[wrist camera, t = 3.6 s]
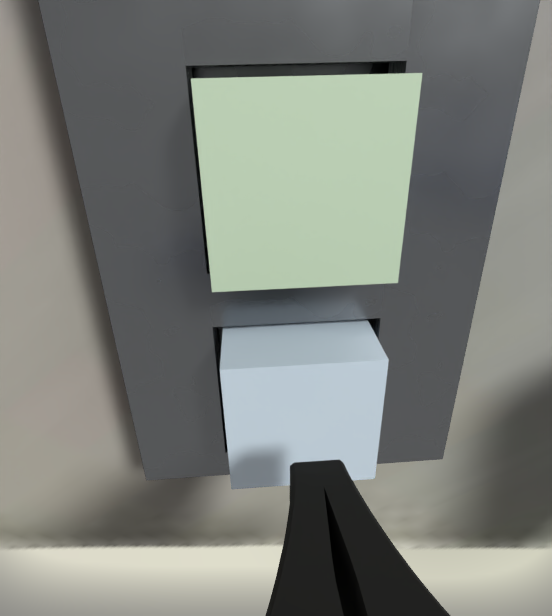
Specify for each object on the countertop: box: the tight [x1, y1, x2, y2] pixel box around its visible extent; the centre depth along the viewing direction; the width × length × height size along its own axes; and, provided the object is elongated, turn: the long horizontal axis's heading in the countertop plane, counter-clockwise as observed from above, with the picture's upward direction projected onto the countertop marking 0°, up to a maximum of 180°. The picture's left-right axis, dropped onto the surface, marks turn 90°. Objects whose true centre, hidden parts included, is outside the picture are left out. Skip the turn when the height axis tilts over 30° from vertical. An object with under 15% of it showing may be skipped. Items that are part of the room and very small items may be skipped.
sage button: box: [191, 73, 422, 292], centre depth 12 cm, size 5×5×3 cm
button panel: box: [38, 0, 540, 480], centre depth 14 cm, size 12×23×3 cm, turn 1°
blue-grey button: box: [220, 319, 389, 489], centre depth 15 cm, size 5×5×3 cm
